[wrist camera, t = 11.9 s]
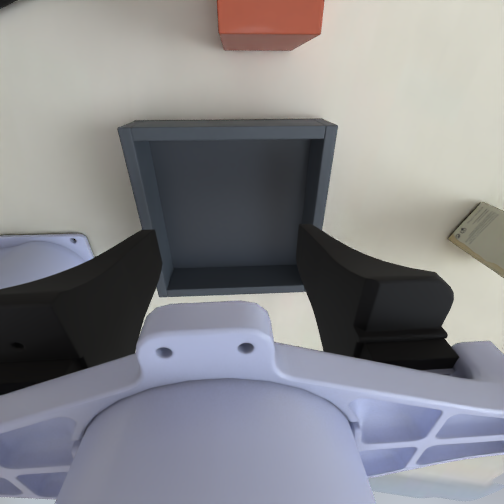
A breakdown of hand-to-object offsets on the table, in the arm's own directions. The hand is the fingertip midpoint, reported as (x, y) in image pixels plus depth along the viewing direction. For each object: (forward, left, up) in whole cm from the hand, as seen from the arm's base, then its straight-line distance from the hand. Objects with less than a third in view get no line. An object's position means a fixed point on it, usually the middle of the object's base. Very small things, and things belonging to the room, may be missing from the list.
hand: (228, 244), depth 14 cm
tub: (0, -2, -10) cm, 10 cm away
